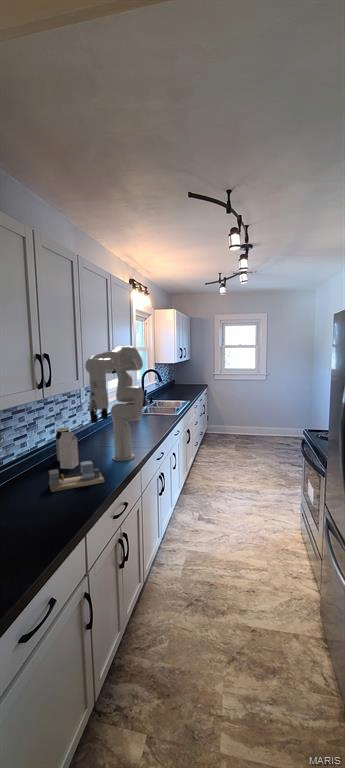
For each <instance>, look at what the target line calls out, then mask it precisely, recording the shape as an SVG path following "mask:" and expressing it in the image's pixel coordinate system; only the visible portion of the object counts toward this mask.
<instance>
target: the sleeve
mask: <svg viewBox="0 0 345 768" xmlns="http://www.w3.org/2000/svg"><path fill="white" fill-rule="evenodd" d="M79 464H80V473H82V476H81V477H82V479H83V480H88V479H94V469H95V468H94V463H93V462H92V460H85V461H79Z"/></svg>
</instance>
